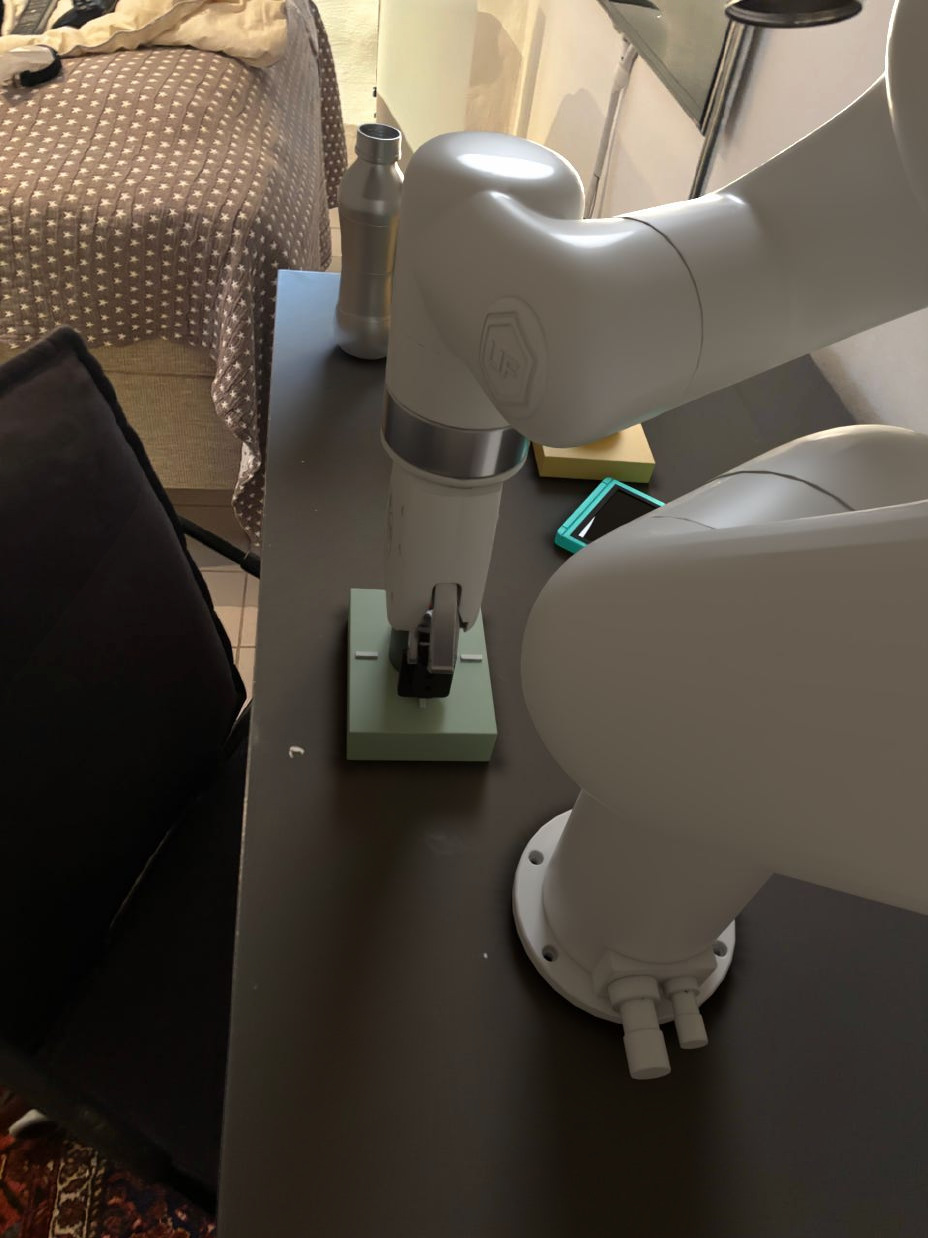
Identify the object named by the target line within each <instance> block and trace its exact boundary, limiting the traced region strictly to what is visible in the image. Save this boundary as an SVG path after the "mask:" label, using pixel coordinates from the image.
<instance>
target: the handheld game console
mask: <svg viewBox="0 0 928 1238" xmlns="http://www.w3.org/2000/svg"><path fill="white" fill-rule="evenodd" d="M665 504H666V503H664V502H662V501H660V500H658V499H656V498H654V497H652V496H650V495H648V494H646V493H644V492H642V491H639V490H637V489H635V488H633V487H631V486H629V485H628V484H625V483H624V482H622V481H617V480H615V479H614V480H612V478H610V477H607V478H605V479H604V480H601V482H600V483H599V484H598V486H597V487H596V488H595V489H594V490H593V491H592V492H591V493H590V494H589V495H588V496H587V498H586V499H585V500H584V501H583V502H582V503H581V504H580V505H579V506H578V507H577V508H576V509H575V510H574V511H573V513H572V514H571V515H570V516H569V517H568V518H567V519H566V520H565V521H564V522H563V523H562V525H561V526H560V527H559V528H558V529H557V530H556V534H555V538H554V544H555V545H556V546H558V547H561V548H562V549H564V550H566V551H568V552H570V553H572V554H573V555H574V554H575V553H577V552H578V551H580V550H581V549H582V548H584V547H585V546H587V545H588V544H590V543H592V542H593V541H595V540H597V539H599V538H600V537H602V536H604V535H606V534H607V533H609V532H611V531H613V530H615V529H617V528H619V527H621V526H623V525H625V524H627V523H629V522H631V521H633V520H635V519H637V518H639V517H641V516H643V515H645V514H647V513H649V512H651V511H653V510H655V509H657V508H659V507H661V506H663V505H665Z"/></svg>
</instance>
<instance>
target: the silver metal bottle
mask: <svg viewBox="0 0 928 1238" xmlns="http://www.w3.org/2000/svg"><path fill="white" fill-rule="evenodd" d="M401 147H402V132H401V131H400V130H399V129H398V128H395V127H394V126H390V125H389V124H383V123H376V122H367V123H362V124H359V125H358V126H357V129H356V139H355V144H354V150H353V151H354V154H355V155H356V156H357V158H356V159H355V160H354V161H353V162H352V164H351V165H349V167H348V168H347V170H346V171H345V172H344V174H343V176H342V177H341V178H340V179H339V180H340V181H339V184H338V187H337V189H336V190H337V191H336V203H337V212H338V221H339V231H340V254H341V257H340V258H341V262H340V263H341V268H340V275H339V277H340V278H339V286H338V294H337V299H336V303H335V307H334V312H333V317H332V327H333V334H334V339H335V341H336V342H337V344H338V345H339V347H340V348H341V349H342V350H343V352H345V353H347V354H348V355H350V356H352V357H356V358H359V359H363V360H379V359H383V358H387V351H388V339H389V328H390V316H391V305H392V293H393V282H394V271H395V259H396V248H397V237H398V225H399V214H400V203H401V192H402V184H403V178H404V174H403V172H402V170H401V169H400V167H399V165H398V162H399V161H400V160H401V159H402V149H401Z"/></svg>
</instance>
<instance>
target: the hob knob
mask: <svg viewBox="0 0 928 1238" xmlns="http://www.w3.org/2000/svg"><path fill="white" fill-rule="evenodd" d="M429 609H431V604H430V608H429ZM430 628H431V627H421V631H420V642H419V643H430ZM408 639H409V631H404V630H395V629H394V628H393V627H392V630H391V639H390V647H389V659H390V662H391V664H392V666H393V667H394V668H395V669H396V670H397V671H398V672H399V670H400V663H401V656H402V649H403V648H407V647H408Z"/></svg>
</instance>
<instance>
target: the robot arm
mask: <svg viewBox="0 0 928 1238" xmlns="http://www.w3.org/2000/svg"><path fill="white" fill-rule="evenodd" d="M888 25H889V26H888V31H887V39H886V40H887V41H886V50H885V61H884V62H885V66H884V67H885V70H884V72H883V73H882V74H881V76H880V77H879V78H878V79H877V80H876V81H875V82H874V83H873V84H871V86H870V87H868V89H867V90H866V91H864V92H863V93H862V94H861V95H860V96H859V97H857V98H856V99H855V100H854V101H853V102H852V103H850V104H849V105H847V106H846V107H845V108H844V109H842V110H841V111H840V112H838V113H837V114H835V115H834V116H833V117H832V118H831V119H829V120H828V121H826V122H824V123H823V124H822V125H820V126H819V127H817V128H816V129H814V130H813V131H811V132H810V133H808V134H807V135H806V136H804V137H802V138H800V139H799V140H798V141H796V142H795V143H793V144H792V145H790V146H788V147H787V148H785V149H783V150H782V151H780V152H779V153H778V154H775V155H774V156H773V157H771V158H770V159H768V160H766V161H764V162H763V163H762V164H760V165H758V166H757V167H755V168H753V169H752V170H750V171H748V172H747V173H745V174H743V175H742V176H740V177H739V178H737V179H736V180H734V181H732V182H730V183H728V184H727V185H724V186H723V187H721V188H718V189H716V190H714V191H713V192H710V193H707V194H705V195H703V196H701V197H698V198H694V199H689V200H683V201H678V202H672V203H667V204H663V205H659V206H655V207H650V208H646V209H645V208H644V209H641V210H635V211H632V212H627V213H622V214H618V215H614V216H609V217H605V218H585V219H584V215H585V208H586V196H585V189H584V186H583V182H582V179H581V177H580V175H579V173H578V172H577V171H576V169H575V168H574V166H572V164H571V162H569V161H568V160H567V159H566V158H565V157H564V156H562V155H560V154H559V153H558V152H556V151H554V150H552V149H551V148H549V147H546V146H544V145H542V144H539V143H538V142H535V141H532V140H531V139H527V138H524V137H521V136H517V135H514V134H509V133H504V132H498V131H490V130H489V131H487V130H460V131H451V132H446V133H442V134H438V135H437V136H434V137H432V138H430V139H428V140H427V141H425V142H424V143H422V144H421V145H420V146H419V147H417V149H416V150H415V152H414V153H413V154H412V155H411V158H410V159H409V162H408V163H407V165H406V167H405V171H404V174H403V176H404V178H403V184H402V192H401V203H400V214H399V225H398V237H397V248H396V259H395V271H394V282H393V293H392V305H391V316H390V328H389V339H388V351H387V356H386V363H385V376H384V384H383V385H384V386H383V397H382V398H383V399H382V410H381V420H380V421H381V422H380V431H379V432H380V433H379V435H380V436H379V437H380V438H379V439H380V442H381V445H382V448H383V449H384V451H385V452H386V454H387V456H388V458H390V459H391V461H392V466H391V474H390V482H389V487H388V488H389V489H388V496H387V502H386V509H385V513H384V514H385V515H384V524H383V525H384V526H383V527H384V528H383V551H384V552H383V553H384V554H383V555H384V585H385V586H384V588H385V589H384V590H386V610H387V619H388V622H389V623H390V625H391V626H392V627H393V628H394V629H395V630H404V631H409V639H408V647H407V648H403V649H402V656H401V663H400V670H399V677H398V685H397V693H398V695H399V696H401V697H417V698H422V699H430V698H445V697H447V696H449V693H450V689H451V684H452V679H453V675H454V670H455V665H456V660H457V649H458V640H459V631H460V628H461V629H463V631H464V632H467V631H468V630H470V629H471V628H472V627H473V626H474V624H475V622H476V620H477V617H478V614H479V610H480V607H481V608H482V603H483V598H484V594H485V589H486V584H487V579H488V576H489V575H488V574H489V569H490V564H491V558H492V553H493V548H494V543H495V538H496V537H495V536H496V530H497V525H498V521H499V519H500V513H499V512H500V505H501V499H502V492H503V484H504V482H505V481H506V480H509V479H510V478H512V477H513V476H515V475H517V474H518V472H519V471H520V470H521V469H522V468H523V467H524V465H525V463H526V461H527V457H528V454H529V453H528V452H529V449H530V445H531V443H532V441H533V442H535V443H537V444H540V445H543V446H547V447H552V448H570V447H578V446H582V445H585V444H589V443H592V442H595V441H598V440H600V439H603V438H605V437H607V436H610V435H612V434H615V433H617V432H620V431H622V430H625V429H627V428H630V427H632V426H634V425H637V424H639V423H641V424H642V423H644V422H647V421H649V420H651V419H654V418H657V417H658V416H660V415H662V414H663V413H666V412H669V411H671V410H673V409H676V408H678V407H681V406H683V405H685V404H688V403H690V402H693V401H696V400H697V399H700V398H702V397H704V396H707V395H709V394H712V393H715V392H718V391H721V390H723V389H726V388H728V387H731V386H733V385H736V384H739V383H741V382H744V381H745V380H748V379H751V378H753V377H755V376H758V375H760V374H762V373H765V372H767V371H770V370H772V369H775V368H776V367H779V366H782V365H785V364H786V363H789V362H791V361H794V360H797V359H798V358H801V357H804V356H806V355H808V354H811V353H813V352H816V351H819V350H821V349H823V348H826V347H829V346H832V345H834V344H837V343H839V342H842V341H844V340H847V339H849V338H851V337H855V336H856V335H859V334H862V333H864V332H867V331H869V330H871V329H875V328H877V327H879V326H882V325H885V324H887V323H890V322H892V321H895V320H898V319H900V318H902V317H906V316H909V315H911V314H913V313H916V312H919V311H922V310H924V309H927V308H928V0H895V1H894V5H893V8H892V12H891V15H890V20H889V24H888ZM430 604H431V609H429V608H430ZM421 627H431V628H430V643H419V642H420V631H421ZM520 680H521V687H522V688H521V689H522V693H523V698H524V702H525V705H526V708H527V712H528V715H529V717H530V719H531V722H532V725H533V726H534V729H535V730H536V732H537V734H538V736H539V738H540V739H541V741H542V743H543V745H544V747H545V748H546V750H547V751H548V752H549V754H550V755H551V757H552V758H553V760H554V761H555V762H556V763H557V764H558V766H559V767H560V768H561V769H562V771H564V772H565V774H566V775H567V777H569V778H570V779H571V780H572V781H573V782H574V783H575V784H576V785H578V787H580V788H581V789H580V791H579V793H578V796H577V798H576V800H575V803H574V805H573V807H572V808H571V809H569V810H567V811H564V812H563V813H561V814H559V815H556V816H554V817H553V818H552V819H550V820H549V821H548V822H546V823H544V825H542V826H541V827H540V828H539V829H538V831H536V833H535V834H534V835H533V836H532V837H531V839H530V840H529V841H528V843H527V844H526V846H525V848H524V850H523V851H522V854H521V856H520V858H519V861H518V863H517V866H516V869H515V873H514V879H513V884H512V888H511V889H512V890H511V899H512V900H511V901H512V902H511V903H512V915H513V919H514V924H515V928H516V932H517V935H518V938H519V940H520V943H521V945H522V946H523V950H524V951H525V954H526V955H527V957H528V959H529V960H530V961H531V964H533V967H534V968H535V969H536V971H537V972H538V974H539V975H540V976H541V977H542V978H543V979H544V980H545V981H546V982H547V984H548V985H549V986H550V987H551V988H552V989H553V990H554V991H555V992H556V993H558V994H559V995H560V996H561V997H563V998H564V999H565V1000H567V1001H568V1002H569V1003H571V1004H572V1005H573V1006H574V1007H576V1008H579V1009H580V1010H582V1011H584V1012H586V1013H587V1014H590V1015H592V1016H593V1017H596V1018H599V1019H602V1020H604V1021H605V1020H606V1021H609V1022H612V1023H615V1024H620V1025H622V1026H623V1027H622V1028H623V1033H624V1036H623V1037H622V1040H623V1044H624V1049H625V1055H626V1059H627V1064H628V1070H629V1075H630V1077H631V1078H632V1079H634V1080H653V1079H658V1078H661V1077H664V1076H667V1075H669V1074H670V1073H671V1071H672V1068H671V1064H670V1059H669V1055H668V1050H667V1047H666V1042H665V1041H666V1040H665V1037H664V1033H663V1030H662V1029H660V1025H663V1024H667V1023H669V1022H673V1023H674V1027H675V1030H676V1034H677V1039H678V1044H679V1048H681V1049H683V1050H693V1049H699V1048H702V1047H705V1046H707V1045H708V1044H709V1039H708V1035H707V1031H706V1028H705V1023H704V1020H703V1019H704V1018H703V1016H702V1014H700V1009H699V1008H700V1007H701V1006H702V1005H703V1004H704V1003H705V1002H706V1001H707V1000H708V999H709V998H710V997H711V996H712V995H713V994H714V993H715V992H716V990H717V989H718V988H719V986H720V984H722V982H723V981H724V979H725V977H726V975H727V973H728V971H729V969H730V967H731V964H732V962H733V955H734V951H735V946H736V918H737V917H738V916H739V914H741V912H742V911H743V910H744V908H746V906H747V905H748V904H749V903H750V901H751V900H752V899H753V898H754V897H755V896H756V895H757V893H758V892H759V891H760V890H762V887H763V886H765V884H766V883H767V882H768V881H769V880H770V878H772V876H773V875H774V874H777V875H781V876H785V877H788V878H791V879H795V880H798V881H802V882H806V883H810V884H813V885H816V886H819V887H820V886H821V887H825V888H828V889H831V890H834V891H838V892H842V893H846V894H848V895H853V896H856V897H860V898H864V899H867V900H871V901H874V902H877V903H881V904H885V905H888V906H893V907H896V908H899V909H903V910H907V911H910V912H914V913H918V914H921V915H923V916H928V434H926V433H922V432H920V431H916V430H915V429H914V430H913V429H909V428H906V427H905V428H904V427H899V426H894V425H887V424H876V423H875V424H874V423H873V424H854V425H845V426H838V427H837V426H836V427H833V428H829V429H825V430H822V431H821V430H820V431H818V432H814V433H810V434H807V435H805V436H801V437H798V438H796V439H793V440H791V441H788V442H786V443H784V444H781V445H779V446H777V447H774V448H772V449H770V450H768V451H766V452H764V453H762V454H760V455H758V456H756V457H754V458H752V459H749V460H747V461H745V462H743V463H742V464H739V465H738V466H735V467H733V468H731V469H729V470H727V471H725V472H723V473H721V474H719V475H717V476H715V477H713V478H711V479H709V480H707V481H705V482H703V483H702V484H700V485H699V486H697V487H696V488H695V489H694V490H692V491H689V492H687V493H686V494H684V495H681V496H680V497H677V498H675V499H673V500H672V501H670V502H667V503H665V505H663V506H661V507H659V508H657V509H655V510H653V511H651V512H649V513H647V514H645V515H643V516H641V517H639V518H637V519H635V520H633V521H631V522H629V523H627V524H625V525H623V526H621V527H619V528H617V529H615V530H613V531H611V532H609V533H607V534H606V535H604V536H602V537H600V538H599V539H597V540H595V541H593V542H592V543H590V544H588V545H587V546H585V547H584V548H582V549H581V550H580V551H578V552H577V553H575V554H574V553H573V555H572V556H570V557H569V558H567V559H566V560H565V562H564V563H562V564H561V565H560V566H559V567H558V569H556V570H555V572H554V573H553V574H551V576H550V577H549V579H548V580H547V582H546V583H545V585H543V587H542V589H541V591H540V592H539V594H538V596H537V598H536V600H535V602H534V604H533V606H532V608H531V610H530V613H529V615H528V618H527V621H526V623H525V627H524V631H523V636H522V643H521V651H520ZM545 957H548V958H549V959H550V961H549V960H547V959H546V958H545Z"/></svg>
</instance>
